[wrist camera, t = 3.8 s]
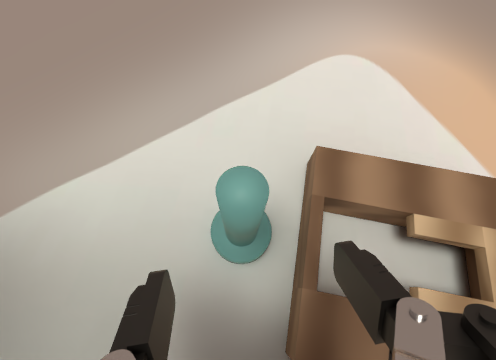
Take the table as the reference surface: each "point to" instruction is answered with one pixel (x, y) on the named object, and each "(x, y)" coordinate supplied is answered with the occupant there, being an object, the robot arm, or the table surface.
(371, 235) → the table surface
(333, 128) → the table surface
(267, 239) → the peg
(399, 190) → the keyhole plate
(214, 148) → the table surface
